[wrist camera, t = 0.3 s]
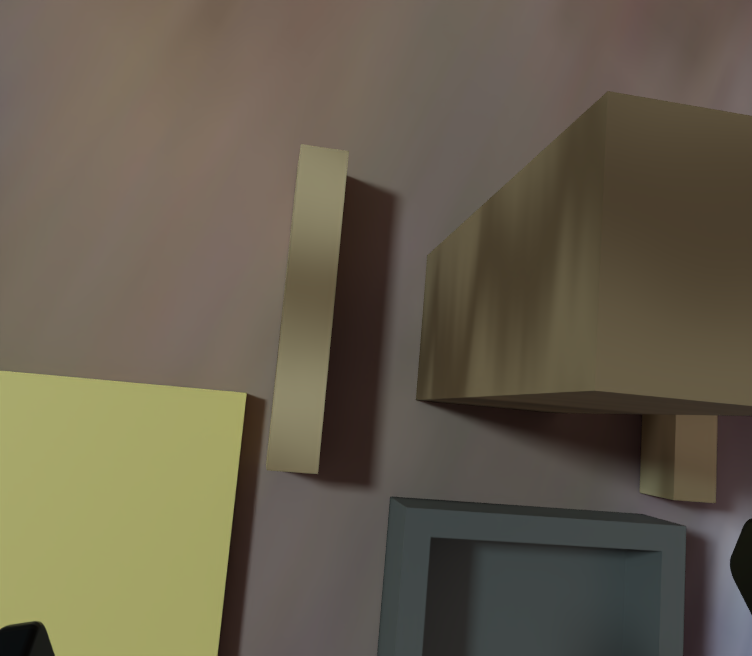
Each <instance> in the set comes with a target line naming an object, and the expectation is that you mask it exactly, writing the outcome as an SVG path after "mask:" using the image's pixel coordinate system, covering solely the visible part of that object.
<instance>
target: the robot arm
mask: <svg viewBox="0 0 752 656" xmlns="http://www.w3.org/2000/svg"><path fill="white" fill-rule="evenodd" d="M730 569H731V573H732V576H733V579H734V581H735V583H736V585H737V587H738V589H739V591H740V593H741V595H742V596H743V598H744V600H745V602H746V604H747V606H748V608H749V610H750V612H751V614H752V518H751V519H749V520H748V521H747V522H746V523H745V524H744V526H743V529H742V531H741V534H740V536H739V538H738V541H737V543H736V546H735V548H734V551H733V553H732V556H731V559H730ZM0 656H55V654H54V651H53V648H52V645H51V642H50V639H49V636H48V633H47V630H46V628H45V626H44V624H43V623H42V622H40V621H31V622H24V623H17V624H10V625H7V626H4V627H3V628H1V629H0Z"/></svg>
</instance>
